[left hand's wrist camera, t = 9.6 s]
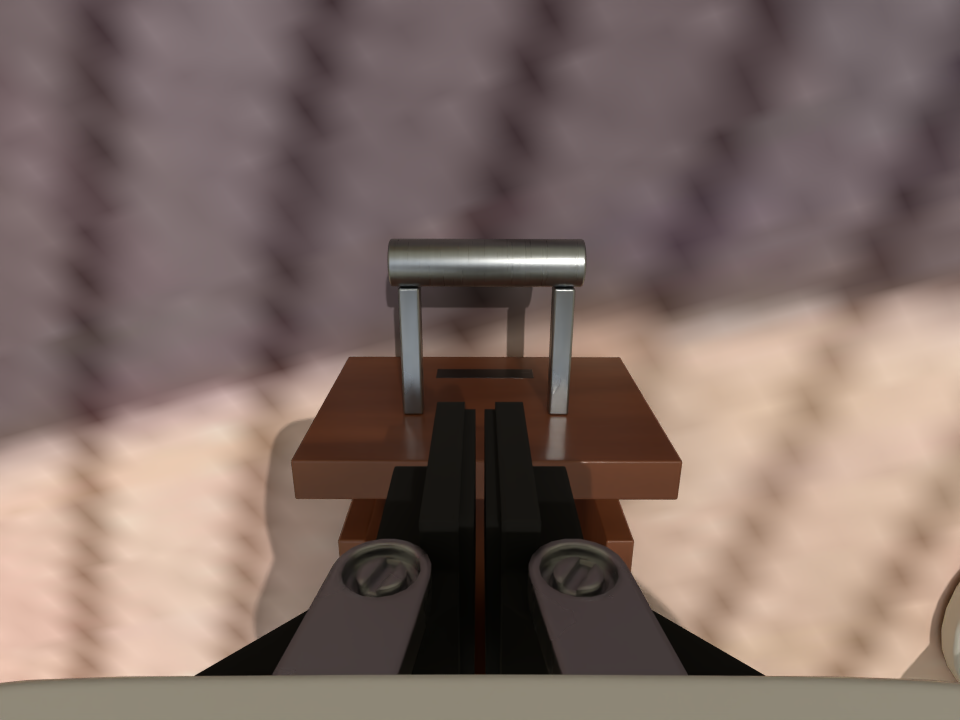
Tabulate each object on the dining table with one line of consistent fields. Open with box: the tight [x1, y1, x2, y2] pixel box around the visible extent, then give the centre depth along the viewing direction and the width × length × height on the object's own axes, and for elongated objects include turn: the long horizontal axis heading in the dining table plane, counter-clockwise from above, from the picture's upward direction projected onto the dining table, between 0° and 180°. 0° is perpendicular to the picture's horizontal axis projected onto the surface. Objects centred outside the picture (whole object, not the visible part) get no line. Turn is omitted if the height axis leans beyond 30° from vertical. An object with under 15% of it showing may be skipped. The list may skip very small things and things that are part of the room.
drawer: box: [291, 239, 682, 675], centre depth 23 cm, size 25×10×8 cm, turn 0°
